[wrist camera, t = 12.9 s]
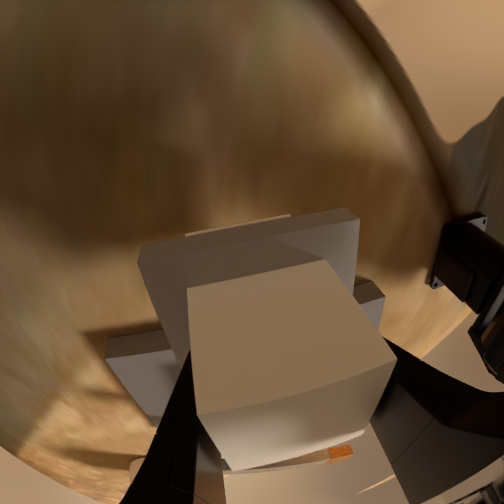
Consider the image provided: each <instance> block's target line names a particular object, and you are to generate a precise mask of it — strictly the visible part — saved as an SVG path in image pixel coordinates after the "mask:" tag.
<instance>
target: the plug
mask: <svg viewBox="0 0 504 504" xmlns="http://www.w3.org/2000/svg"><path fill="white" fill-rule="evenodd" d="M359 229H360V219H359V218H358V217H357V216H356V215H355V214H353V213H352V212H351V211H350V210H349V209H347V208H346V207H343V208H337V209H331V210H325V211H319V212H313V213H308V214H302V215H296V216H291V215H290V214H286V215H280V216H275V217H269V218H264V219H258V220H253V221H248V222H242V223H237V224H232V225H227V226H222V227H217V228H212V229H207V230H202V231H197V232H192V233H187V234H185V237H182V238H177V239H172V240H167V241H163V242H158V243H153V244H149V245H144V246H141V249H140V253H139V258H138V262H137V264H138V266H139V269H140V272H141V275H142V277H143V280H144V283H145V285H146V288H147V291H148V293H149V296H150V298H151V301H152V303H153V306H154V308H155V311H156V313H157V316H158V318H159V321H160V323H161V325H162V328H163V330H164V332H165V335H166V337H167V339H168V341H169V344H170V346H171V348H172V350H173V353H174V355H175V357H176V359H177V361H178V363H179V365H180V368H181V369H182V366H183V364H184V362H185V359H186V357H187V354H188V352H189V350H190V349H191V360H192V371H193V382H194V391H195V401H196V409H197V416H198V418H199V419H200V421H201V423H202V424H203V426H204V428H205V429H206V431H207V433H208V434H209V436H210V437H211V439H212V441H213V442H214V444H215V445H216V447H217V448H218V450H219V452H220V453H221V455H222V456H223V458H224V459H225V461H226V462H227V464H228V465H229V467H230V468H231V469H232V471H237V470H243V469H248V468H253V467H258V466H263V465H267V464H271V463H276V462H280V461H284V460H287V459H291V458H295V457H298V456H302V455H305V454H309V453H312V452H315V451H318V450H321V449H324V448H327V447H330V446H333V445H336V444H339V443H342V442H344V441H347V440H350V439H352V438H355V437H357V436H360V435H362V434H363V432H364V430H365V429H366V427H367V425H368V423H369V421H370V419H371V417H372V415H373V413H374V411H375V409H376V407H377V405H378V403H379V400H380V398H381V396H382V394H383V392H384V390H385V387H386V385H387V383H388V381H389V378H390V376H391V374H392V371H393V369H394V366H395V364H396V361H397V357H396V356H395V354H394V353H393V351H392V350H391V349H390V347H389V346H388V344H387V343H386V341H385V340H384V338H383V337H382V336H381V334H380V333H379V331H378V330H377V328H376V327H375V326H374V324H373V323H372V321H371V320H370V319H369V317H368V316H367V314H366V313H365V312H364V310H363V309H362V308H361V306H360V305H359V303H358V302H357V301H356V299H355V298H354V297H353V289H354V281H355V272H356V263H357V253H358V242H359Z"/></svg>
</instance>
